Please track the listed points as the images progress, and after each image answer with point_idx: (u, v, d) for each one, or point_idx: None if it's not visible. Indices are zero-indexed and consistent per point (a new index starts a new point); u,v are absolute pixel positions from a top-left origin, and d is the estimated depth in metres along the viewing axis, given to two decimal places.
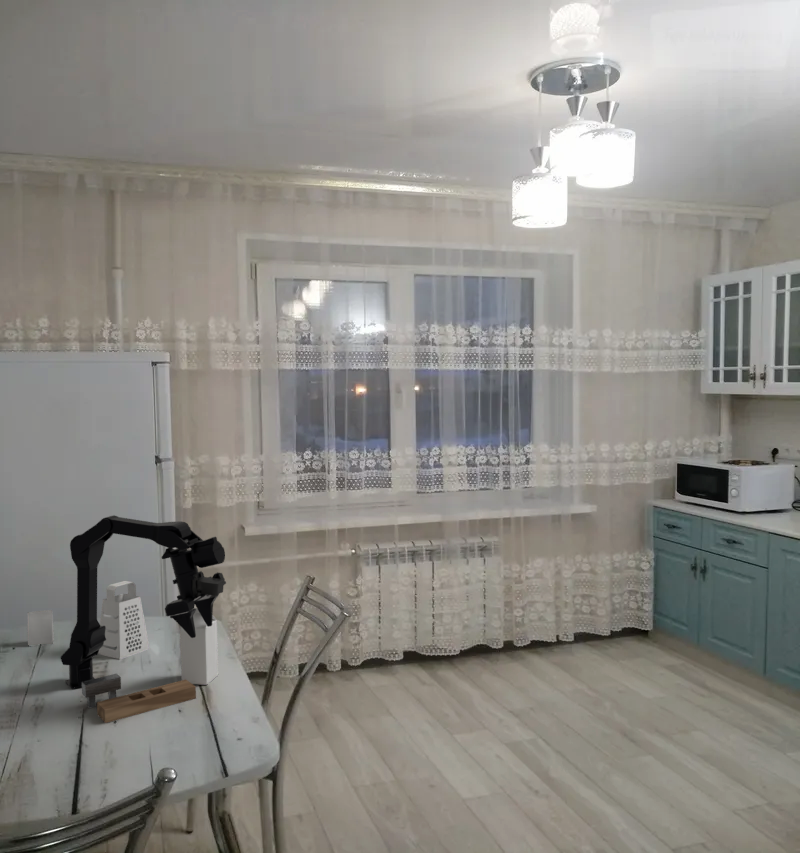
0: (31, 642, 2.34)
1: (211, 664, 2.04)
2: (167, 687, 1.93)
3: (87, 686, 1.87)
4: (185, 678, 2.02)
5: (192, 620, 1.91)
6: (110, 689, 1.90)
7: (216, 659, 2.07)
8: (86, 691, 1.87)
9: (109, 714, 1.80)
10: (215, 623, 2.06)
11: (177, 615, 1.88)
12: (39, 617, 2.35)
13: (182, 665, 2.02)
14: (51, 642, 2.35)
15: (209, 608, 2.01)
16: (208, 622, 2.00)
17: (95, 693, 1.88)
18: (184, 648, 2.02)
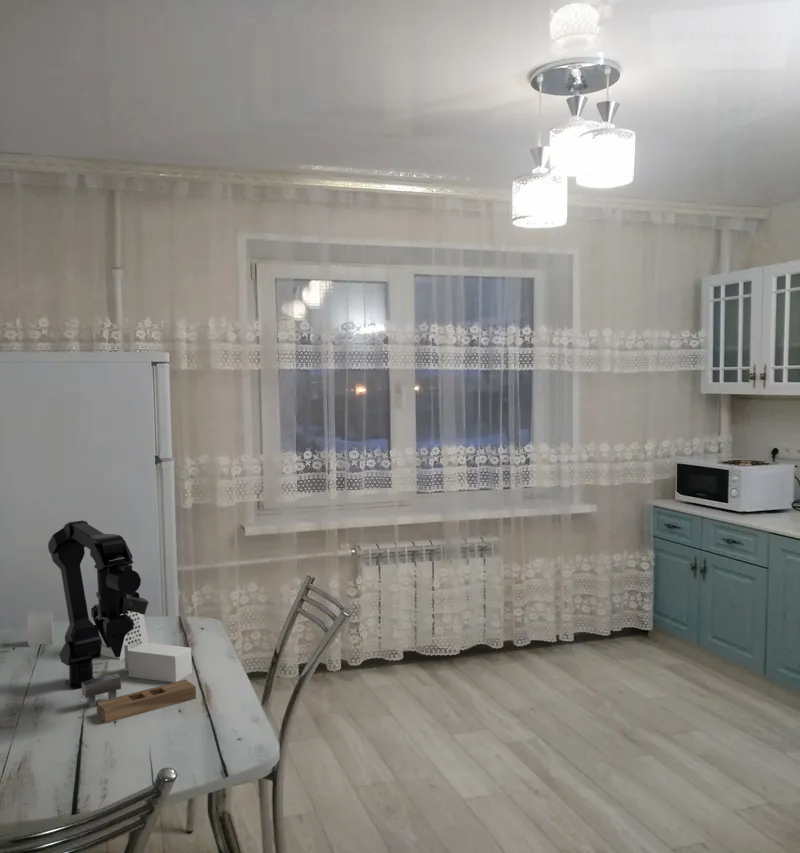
0: (31, 642, 2.34)
1: (167, 651, 2.07)
2: (167, 687, 1.93)
3: (87, 686, 1.87)
4: (171, 678, 2.03)
5: None
6: (110, 689, 1.90)
7: (175, 646, 2.10)
8: (86, 691, 1.87)
9: (109, 714, 1.80)
10: (144, 643, 2.13)
11: (116, 632, 1.82)
12: (39, 617, 2.35)
13: (160, 679, 2.05)
14: (51, 642, 2.35)
15: None
16: (109, 642, 1.93)
17: (95, 693, 1.88)
18: (145, 674, 2.06)
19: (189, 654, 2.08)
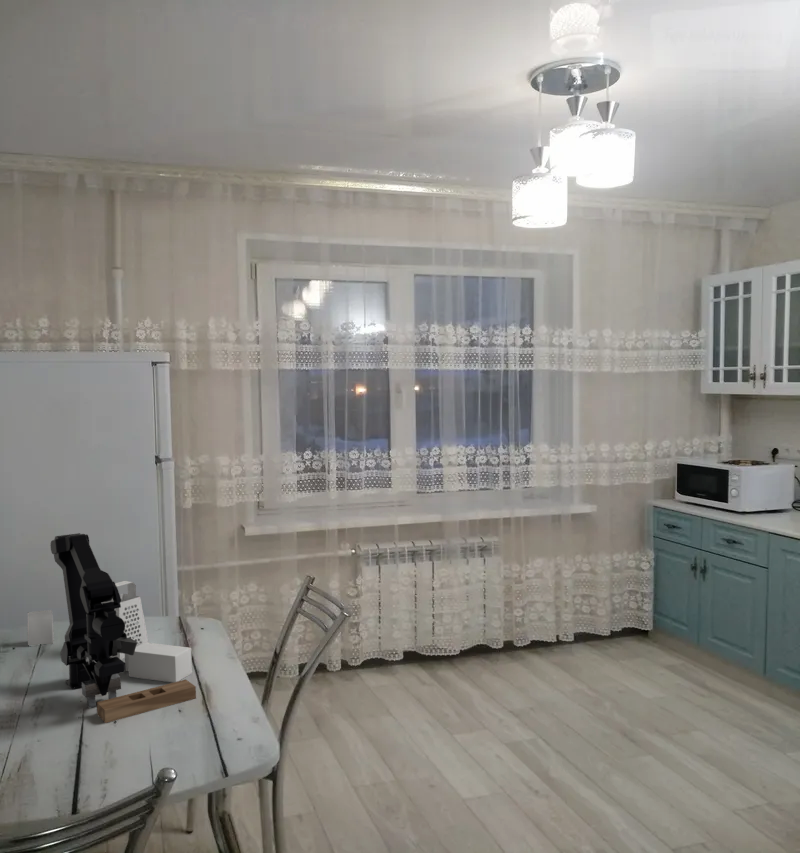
0: (31, 642, 2.34)
1: (167, 651, 2.07)
2: (167, 687, 1.93)
3: (87, 686, 1.87)
4: (171, 678, 2.03)
5: None
6: (110, 689, 1.90)
7: (175, 646, 2.10)
8: (86, 691, 1.87)
9: (109, 714, 1.80)
10: (144, 643, 2.13)
11: None
12: (39, 617, 2.35)
13: (160, 679, 2.05)
14: (51, 642, 2.35)
15: None
16: None
17: (95, 693, 1.88)
18: (145, 674, 2.06)
19: (189, 654, 2.08)
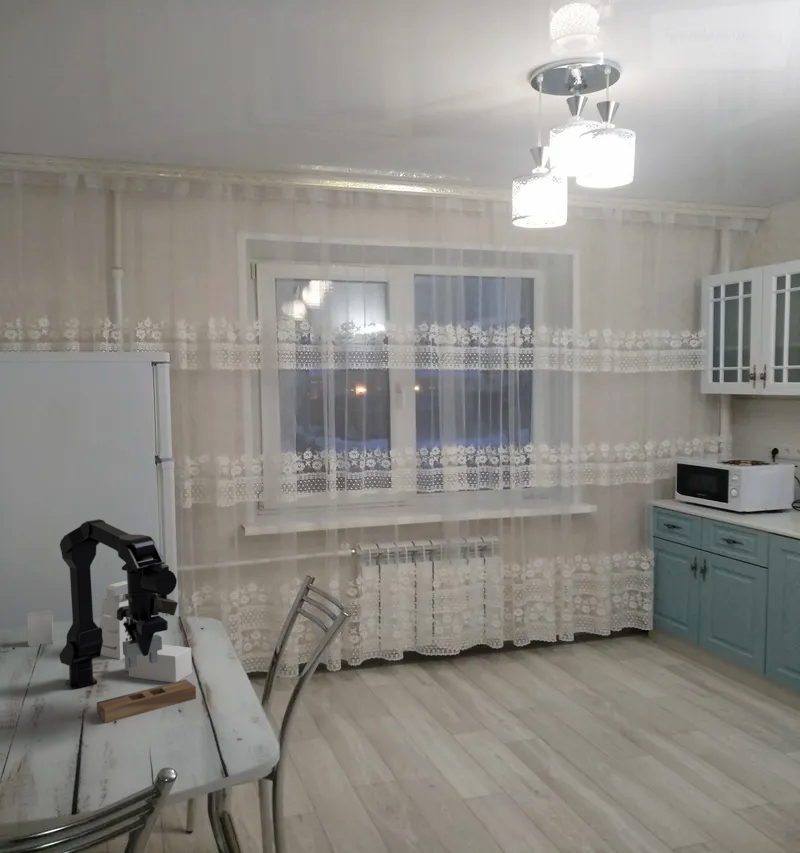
0: (31, 642, 2.34)
1: (167, 651, 2.07)
2: (167, 687, 1.93)
3: (128, 646, 1.84)
4: (171, 678, 2.03)
5: None
6: (151, 649, 1.87)
7: (175, 646, 2.10)
8: (127, 651, 1.84)
9: (109, 714, 1.80)
10: None
11: None
12: (39, 617, 2.35)
13: (160, 679, 2.05)
14: (51, 642, 2.35)
15: None
16: None
17: (136, 653, 1.85)
18: (145, 674, 2.06)
19: (189, 654, 2.08)
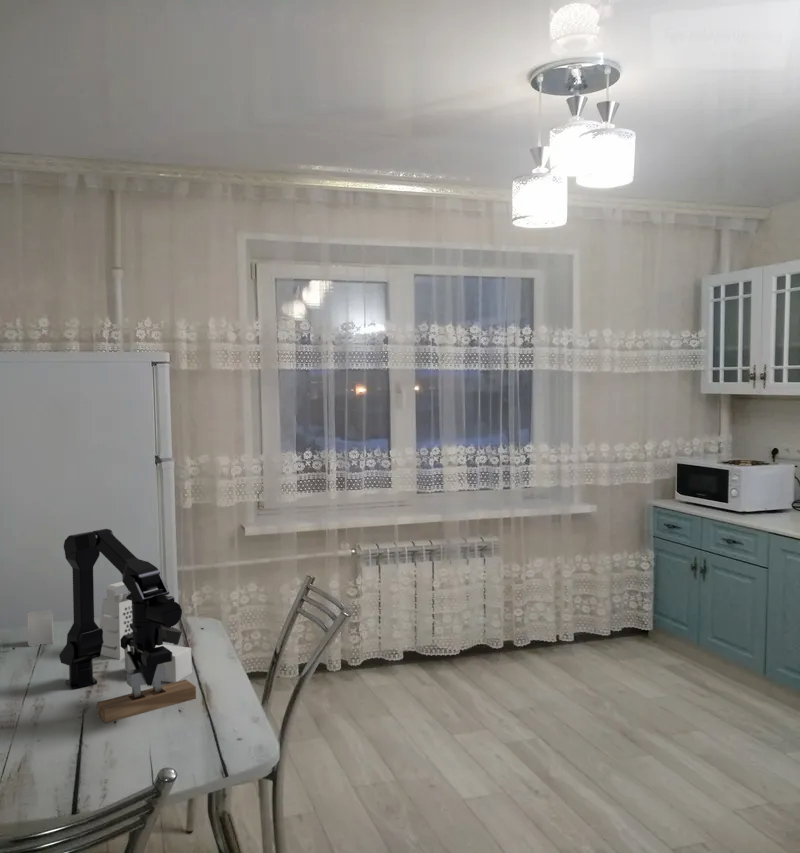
0: (31, 642, 2.34)
1: None
2: (167, 687, 1.93)
3: (133, 675, 1.85)
4: (171, 678, 2.03)
5: None
6: (155, 679, 1.88)
7: (175, 646, 2.10)
8: (132, 680, 1.85)
9: (109, 714, 1.80)
10: None
11: None
12: (39, 617, 2.35)
13: None
14: (51, 642, 2.35)
15: None
16: None
17: (140, 683, 1.86)
18: None
19: (189, 654, 2.08)
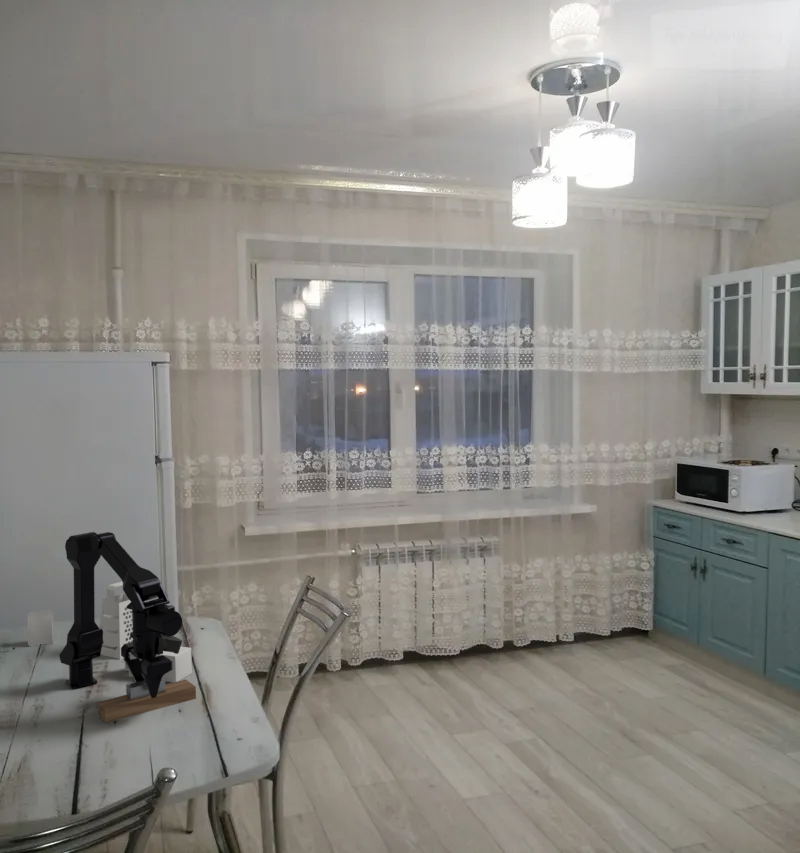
0: (31, 642, 2.34)
1: None
2: (167, 687, 1.93)
3: (132, 689, 1.85)
4: (171, 678, 2.03)
5: None
6: None
7: None
8: (131, 694, 1.85)
9: (109, 714, 1.80)
10: None
11: None
12: (39, 617, 2.35)
13: None
14: (51, 642, 2.35)
15: None
16: None
17: (140, 696, 1.86)
18: None
19: (189, 654, 2.08)
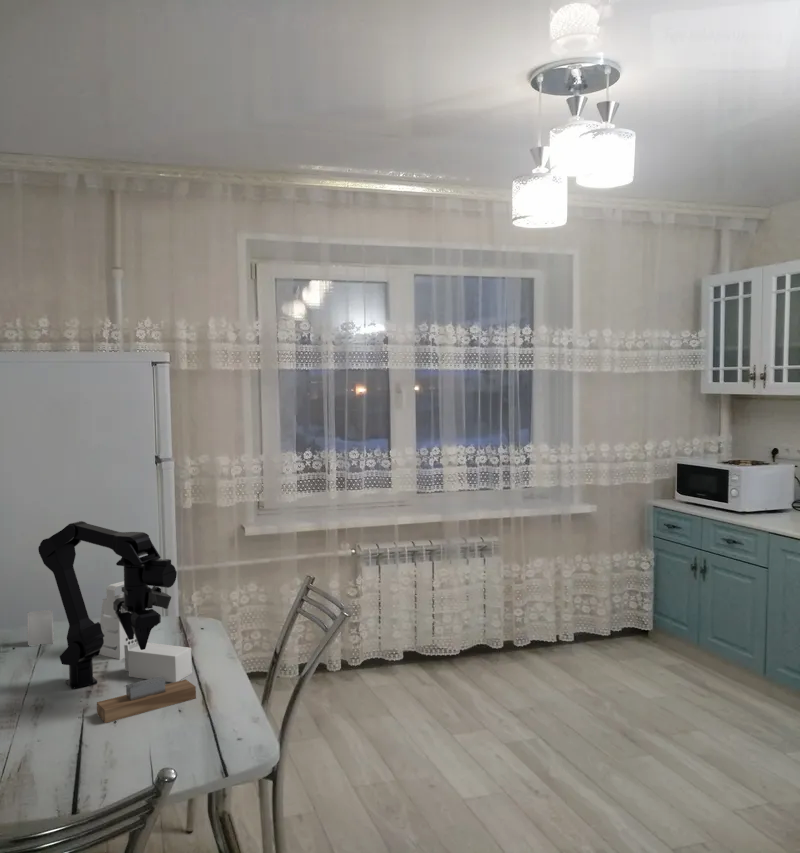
0: (31, 642, 2.34)
1: (167, 651, 2.07)
2: (167, 687, 1.93)
3: (132, 689, 1.85)
4: (171, 678, 2.03)
5: None
6: (154, 692, 1.88)
7: (175, 646, 2.10)
8: (131, 694, 1.85)
9: (109, 714, 1.80)
10: None
11: (144, 626, 1.90)
12: (39, 617, 2.35)
13: None
14: (51, 642, 2.35)
15: None
16: (131, 635, 2.01)
17: (140, 696, 1.86)
18: (145, 674, 2.06)
19: (189, 654, 2.08)
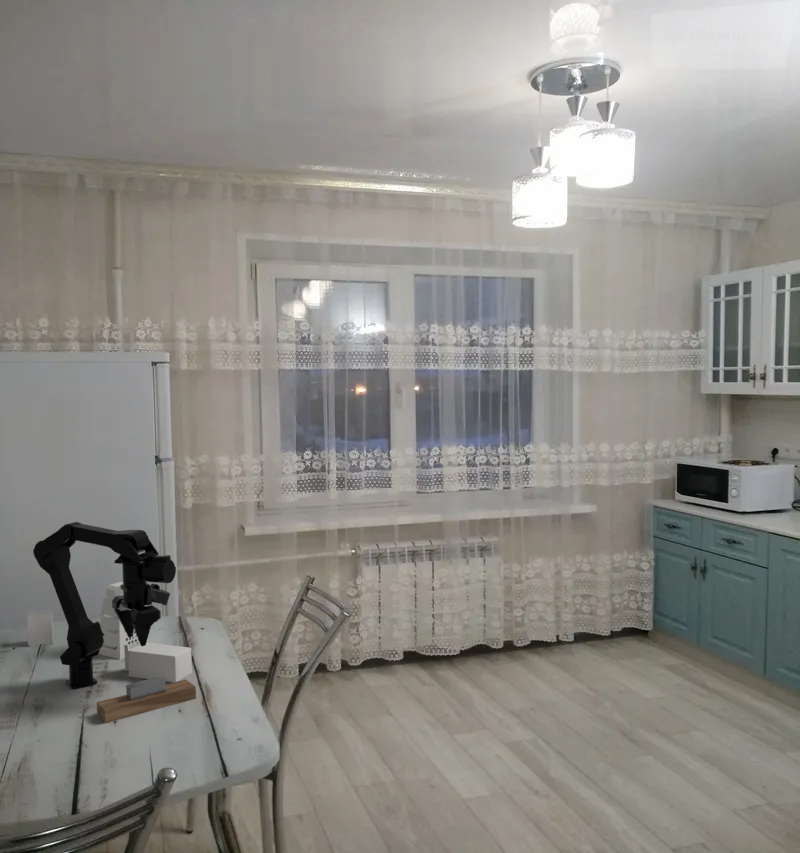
0: (31, 642, 2.34)
1: (167, 651, 2.07)
2: (167, 687, 1.93)
3: (132, 689, 1.85)
4: (171, 678, 2.03)
5: None
6: (154, 692, 1.88)
7: (175, 646, 2.10)
8: (131, 694, 1.85)
9: (109, 714, 1.80)
10: None
11: (144, 622, 1.91)
12: (39, 617, 2.35)
13: None
14: (51, 642, 2.35)
15: None
16: (130, 632, 2.02)
17: (140, 696, 1.86)
18: (145, 674, 2.06)
19: (189, 654, 2.08)
